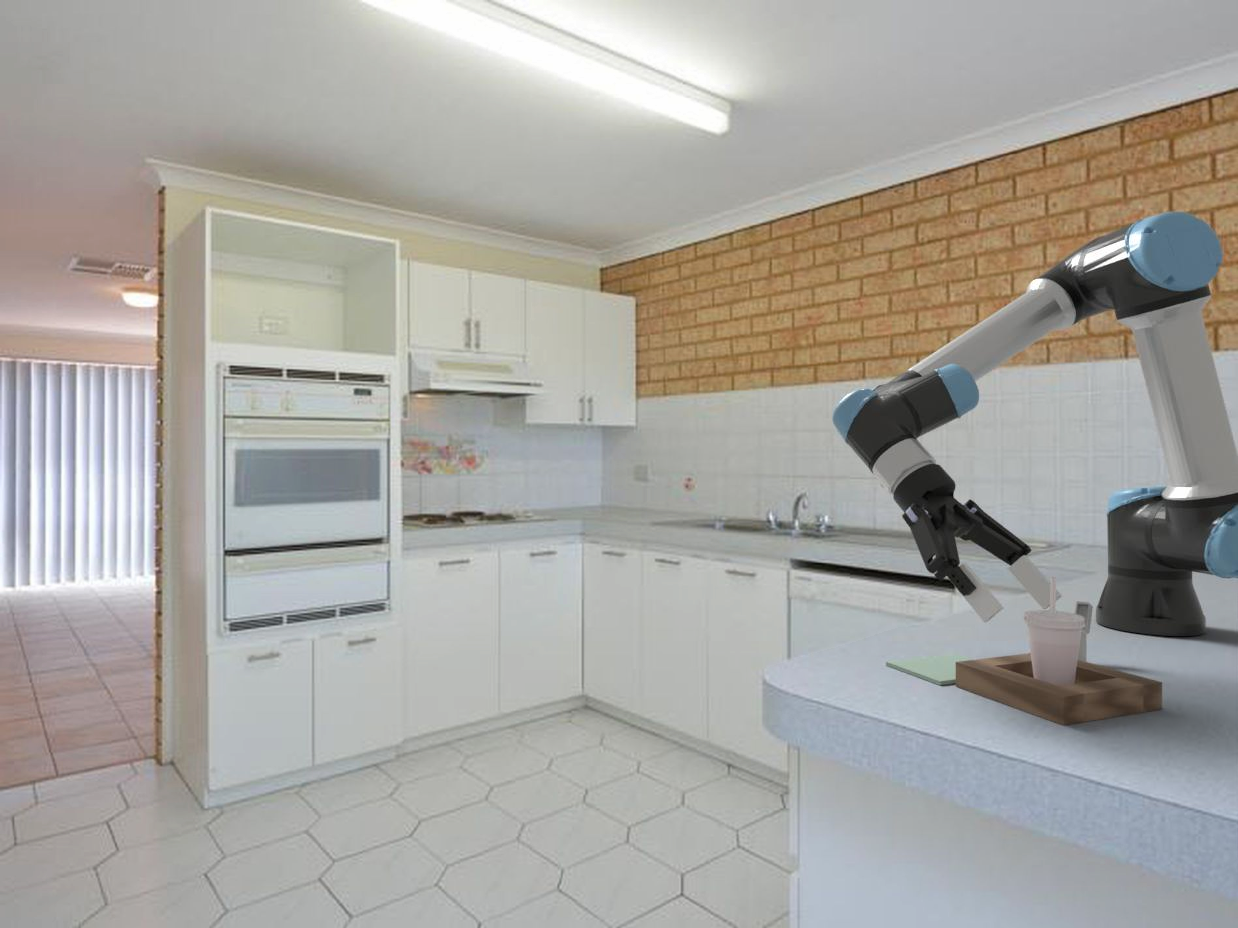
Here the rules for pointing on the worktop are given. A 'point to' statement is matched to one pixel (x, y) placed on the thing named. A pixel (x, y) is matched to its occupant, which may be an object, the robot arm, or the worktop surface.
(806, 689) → the worktop surface
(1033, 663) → the smoothie
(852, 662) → the worktop surface
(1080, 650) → the lighter
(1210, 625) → the worktop surface
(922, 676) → the mat
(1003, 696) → the caddy
